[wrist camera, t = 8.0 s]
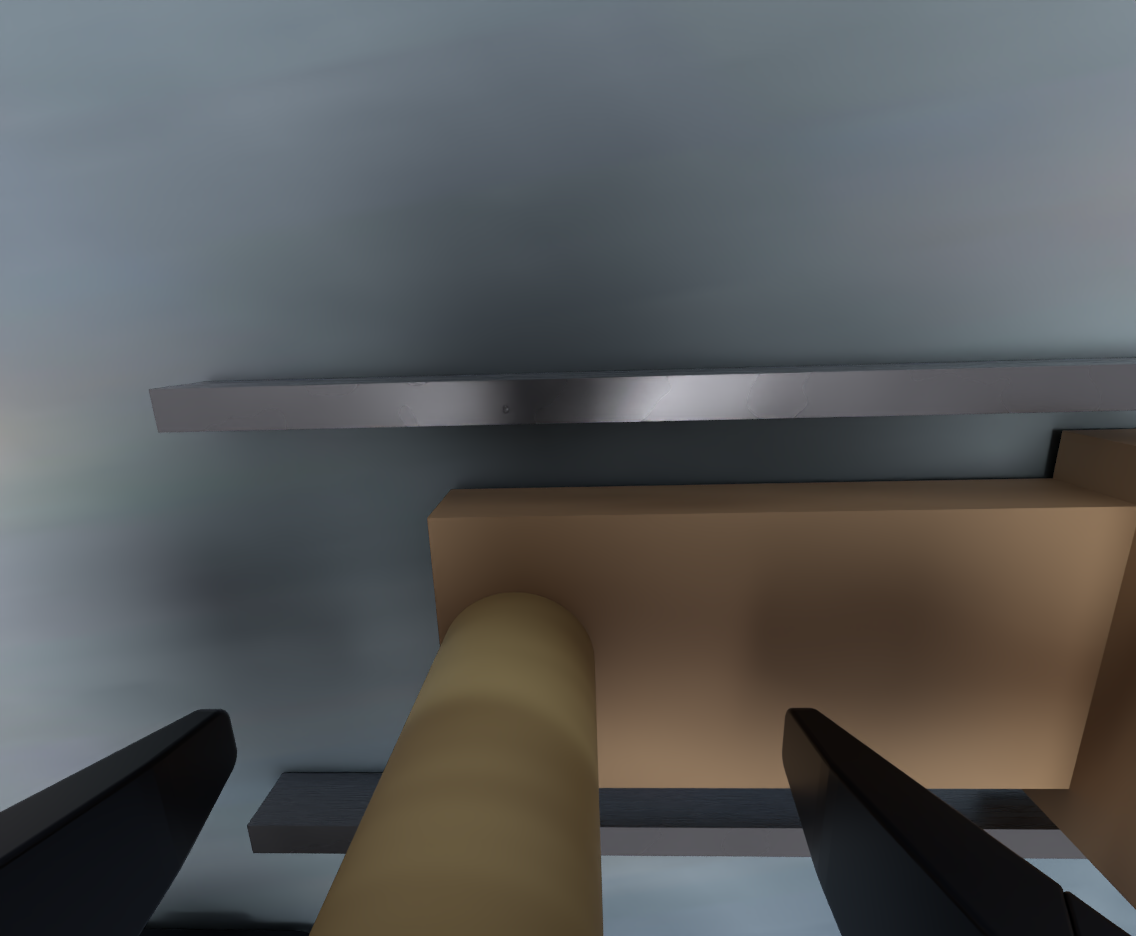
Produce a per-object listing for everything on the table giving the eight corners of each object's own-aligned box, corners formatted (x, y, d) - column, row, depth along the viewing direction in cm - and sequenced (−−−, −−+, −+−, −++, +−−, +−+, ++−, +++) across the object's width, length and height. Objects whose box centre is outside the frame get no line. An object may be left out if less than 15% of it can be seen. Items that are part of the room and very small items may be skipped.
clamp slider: (1080, 760, 13) (1813, 1397, 5) (474, 760, 13) (327, 1337, 6) (1166, 427, 11) (2585, 669, 3) (447, 443, 11) (160, 682, 4)
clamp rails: (1037, 800, 13) (1093, 858, 12) (288, 798, 14) (253, 852, 12) (1144, 356, 10) (1232, 361, 9) (204, 381, 11) (148, 389, 10)
